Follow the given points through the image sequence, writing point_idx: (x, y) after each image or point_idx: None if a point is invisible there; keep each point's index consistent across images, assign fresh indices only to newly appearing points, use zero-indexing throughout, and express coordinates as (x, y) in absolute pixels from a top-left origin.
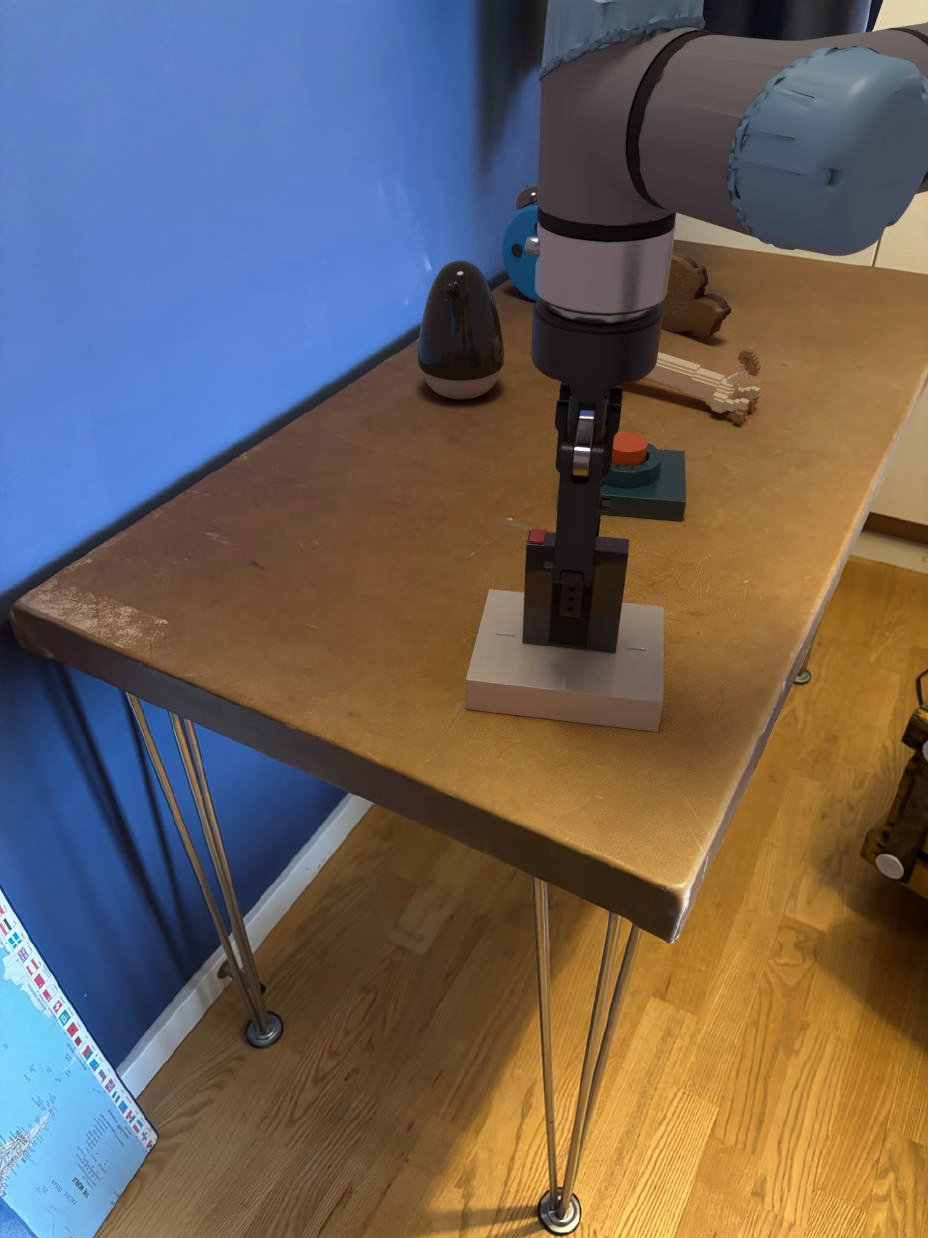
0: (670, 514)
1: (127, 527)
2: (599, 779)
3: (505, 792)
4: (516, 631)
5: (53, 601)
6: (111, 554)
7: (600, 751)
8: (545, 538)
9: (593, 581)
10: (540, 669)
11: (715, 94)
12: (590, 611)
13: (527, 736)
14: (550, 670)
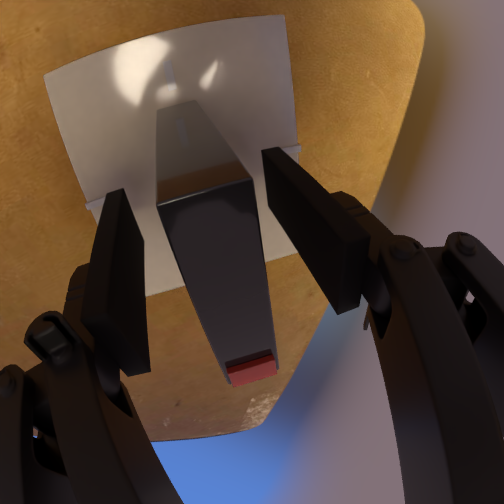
0: None
1: (185, 439)
2: (348, 75)
3: (374, 156)
4: None
5: (254, 423)
6: (209, 432)
7: (311, 78)
8: (248, 359)
9: (338, 217)
10: (265, 186)
11: None
12: (293, 176)
13: (308, 158)
14: (263, 174)
